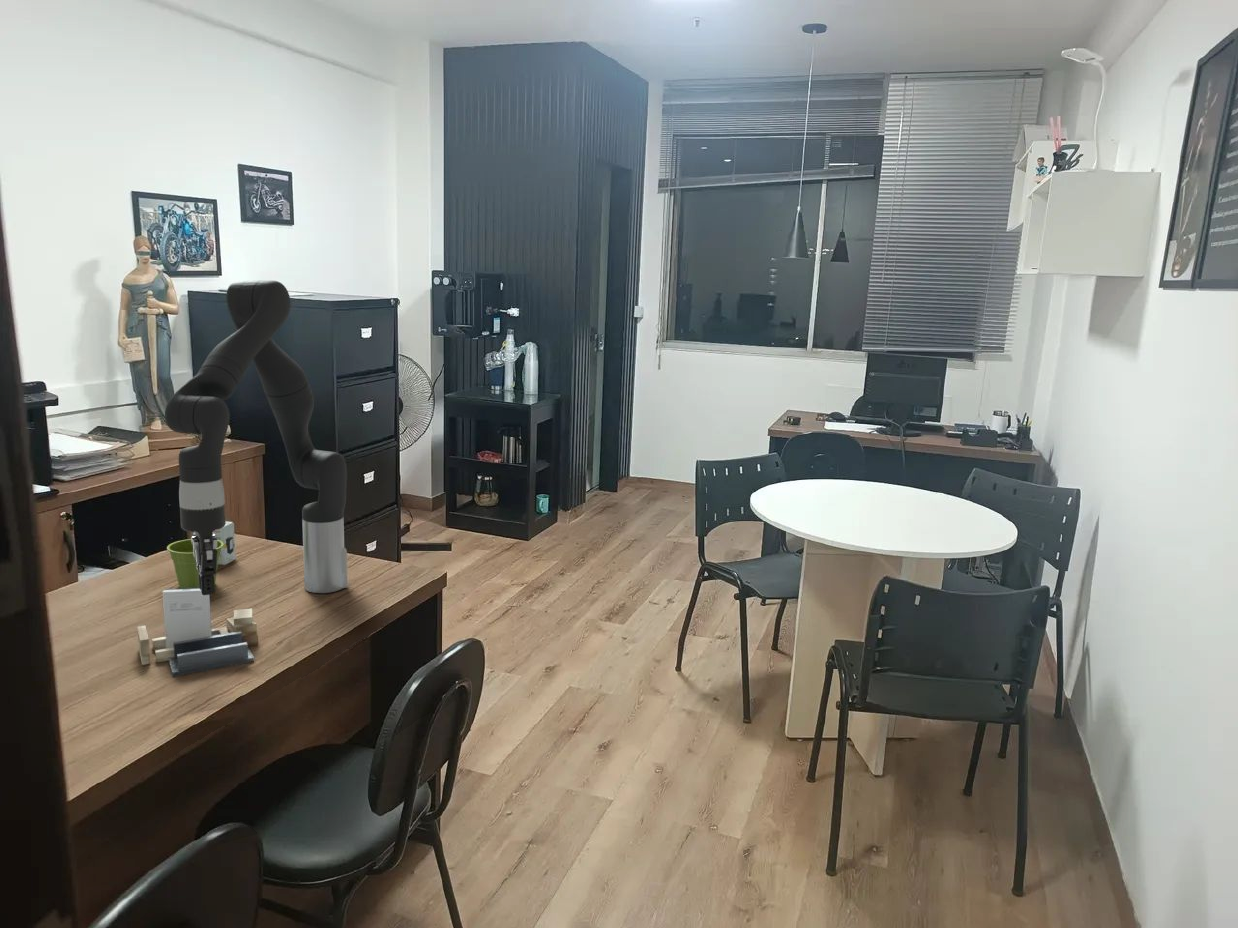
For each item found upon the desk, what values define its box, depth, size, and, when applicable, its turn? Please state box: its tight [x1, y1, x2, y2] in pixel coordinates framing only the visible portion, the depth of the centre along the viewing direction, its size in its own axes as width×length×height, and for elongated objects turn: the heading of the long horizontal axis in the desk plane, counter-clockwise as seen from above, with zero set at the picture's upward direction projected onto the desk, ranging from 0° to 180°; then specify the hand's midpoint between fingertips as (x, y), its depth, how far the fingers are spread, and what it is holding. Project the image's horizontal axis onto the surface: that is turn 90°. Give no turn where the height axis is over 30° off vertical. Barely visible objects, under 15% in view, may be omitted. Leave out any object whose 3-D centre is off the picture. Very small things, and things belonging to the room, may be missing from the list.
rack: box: [136, 625, 228, 666], centre depth 168 cm, size 16×7×5 cm, turn 123°
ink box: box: [192, 520, 236, 566], centre depth 215 cm, size 9×5×12 cm, turn 81°
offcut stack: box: [226, 607, 259, 647], centre depth 174 cm, size 5×7×6 cm
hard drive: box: [162, 588, 212, 649], centre depth 168 cm, size 2×8×12 cm, turn 104°
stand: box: [168, 631, 255, 677], centre depth 164 cm, size 14×7×4 cm, turn 123°
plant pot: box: [166, 538, 224, 589], centre depth 199 cm, size 12×12×11 cm
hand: (206, 591), depth 161 cm, fingers closed
